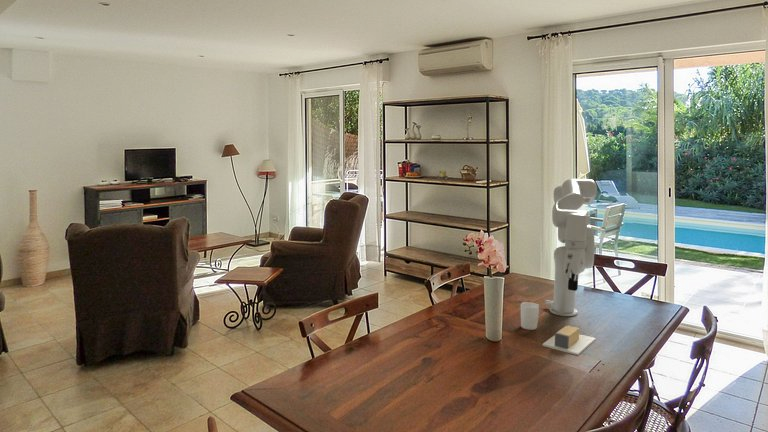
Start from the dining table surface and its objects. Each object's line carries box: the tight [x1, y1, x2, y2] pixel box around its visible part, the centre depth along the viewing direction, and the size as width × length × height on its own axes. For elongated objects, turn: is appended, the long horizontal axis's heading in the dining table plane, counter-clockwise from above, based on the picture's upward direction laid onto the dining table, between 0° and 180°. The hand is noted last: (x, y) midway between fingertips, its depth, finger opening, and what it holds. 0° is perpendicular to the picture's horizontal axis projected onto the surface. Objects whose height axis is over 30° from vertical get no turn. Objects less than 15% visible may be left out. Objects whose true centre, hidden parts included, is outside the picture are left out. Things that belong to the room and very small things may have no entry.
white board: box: [542, 333, 597, 356], centre depth 206 cm, size 14×20×1 cm
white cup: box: [520, 301, 540, 331], centre depth 222 cm, size 8×8×10 cm
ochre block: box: [554, 324, 580, 349], centre depth 203 cm, size 5×5×12 cm
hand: (572, 289), depth 203 cm, fingers closed
